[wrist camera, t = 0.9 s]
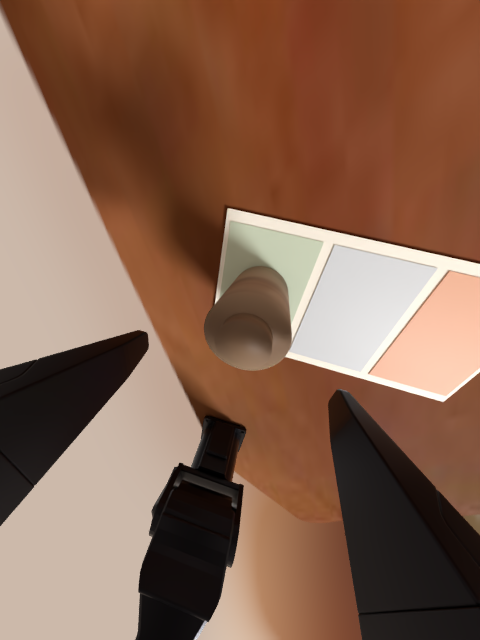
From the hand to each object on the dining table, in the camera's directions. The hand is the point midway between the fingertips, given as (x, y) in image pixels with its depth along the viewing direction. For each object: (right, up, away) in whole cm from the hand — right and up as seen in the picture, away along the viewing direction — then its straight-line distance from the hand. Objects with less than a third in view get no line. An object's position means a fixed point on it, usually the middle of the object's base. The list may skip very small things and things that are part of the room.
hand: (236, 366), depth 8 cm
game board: (+10, +2, +8) cm, 13 cm away
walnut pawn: (+2, +4, +8) cm, 9 cm away
